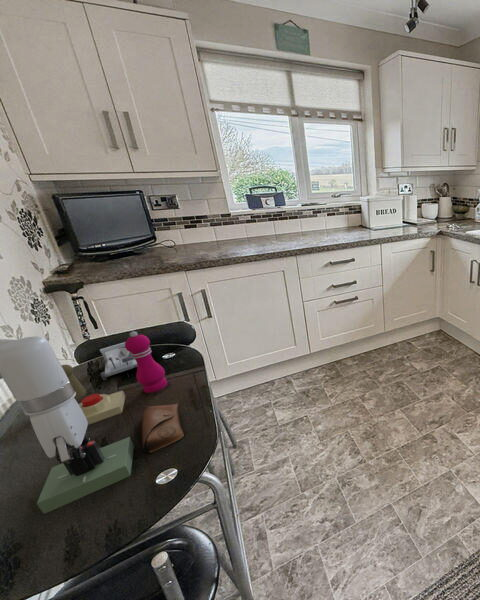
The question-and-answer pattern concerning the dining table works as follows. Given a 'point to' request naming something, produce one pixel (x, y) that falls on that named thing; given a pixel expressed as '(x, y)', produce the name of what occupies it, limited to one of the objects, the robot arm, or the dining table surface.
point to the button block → (104, 407)
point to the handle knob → (93, 453)
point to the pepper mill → (145, 363)
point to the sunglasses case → (160, 427)
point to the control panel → (87, 477)
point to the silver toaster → (116, 360)
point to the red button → (91, 400)
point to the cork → (74, 382)
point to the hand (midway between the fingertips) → (87, 465)
